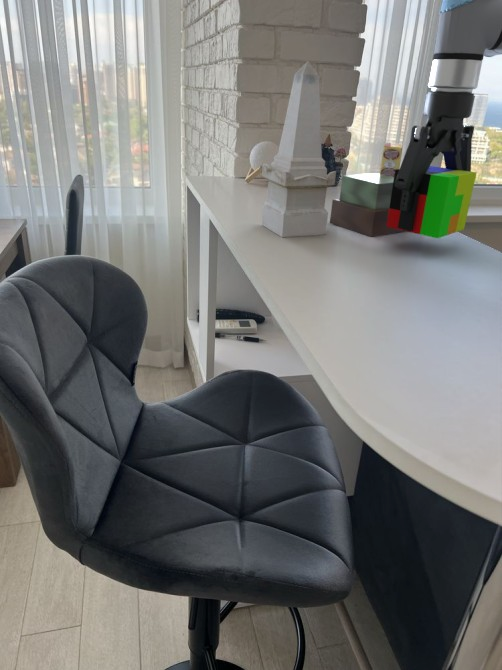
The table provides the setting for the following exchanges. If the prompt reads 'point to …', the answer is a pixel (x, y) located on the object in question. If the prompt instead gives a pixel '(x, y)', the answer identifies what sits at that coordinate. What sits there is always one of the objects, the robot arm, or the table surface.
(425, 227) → the puzzle toy
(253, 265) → the table surface
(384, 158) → the candy box
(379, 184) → the block stack
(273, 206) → the miniature monument
